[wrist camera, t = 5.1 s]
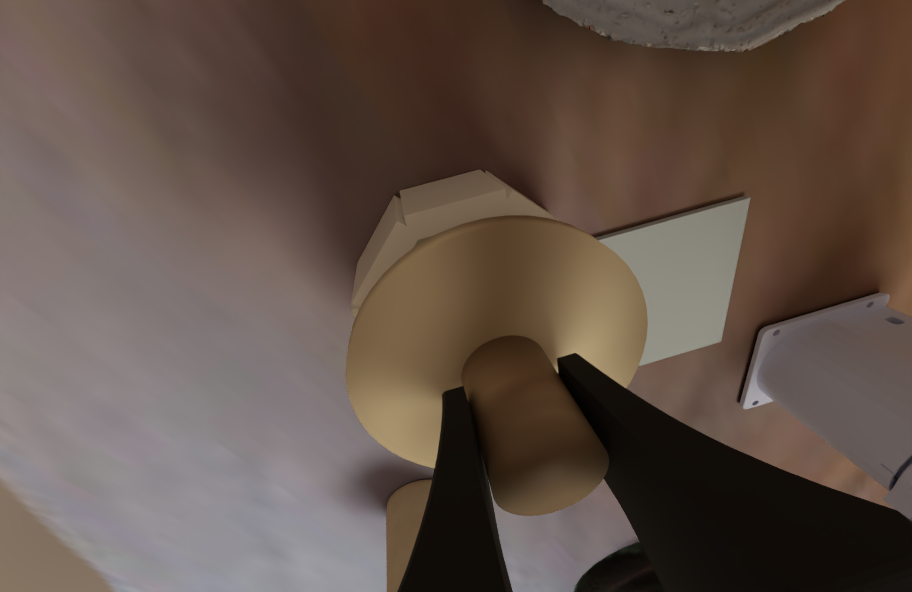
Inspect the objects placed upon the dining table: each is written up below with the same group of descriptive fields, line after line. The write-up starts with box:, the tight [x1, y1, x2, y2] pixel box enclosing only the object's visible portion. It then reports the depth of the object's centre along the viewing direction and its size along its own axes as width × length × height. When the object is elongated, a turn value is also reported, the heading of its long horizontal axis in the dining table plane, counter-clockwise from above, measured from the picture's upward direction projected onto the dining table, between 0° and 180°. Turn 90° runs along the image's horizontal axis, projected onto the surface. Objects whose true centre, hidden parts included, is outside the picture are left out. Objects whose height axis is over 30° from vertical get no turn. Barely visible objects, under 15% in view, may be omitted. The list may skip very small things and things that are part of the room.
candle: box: [386, 479, 432, 592], centre depth 24 cm, size 6×6×10 cm
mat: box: [595, 196, 750, 366], centre depth 22 cm, size 10×10×1 cm
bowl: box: [351, 169, 562, 319], centre depth 17 cm, size 10×10×4 cm
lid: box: [346, 215, 648, 516], centre depth 11 cm, size 10×10×5 cm
